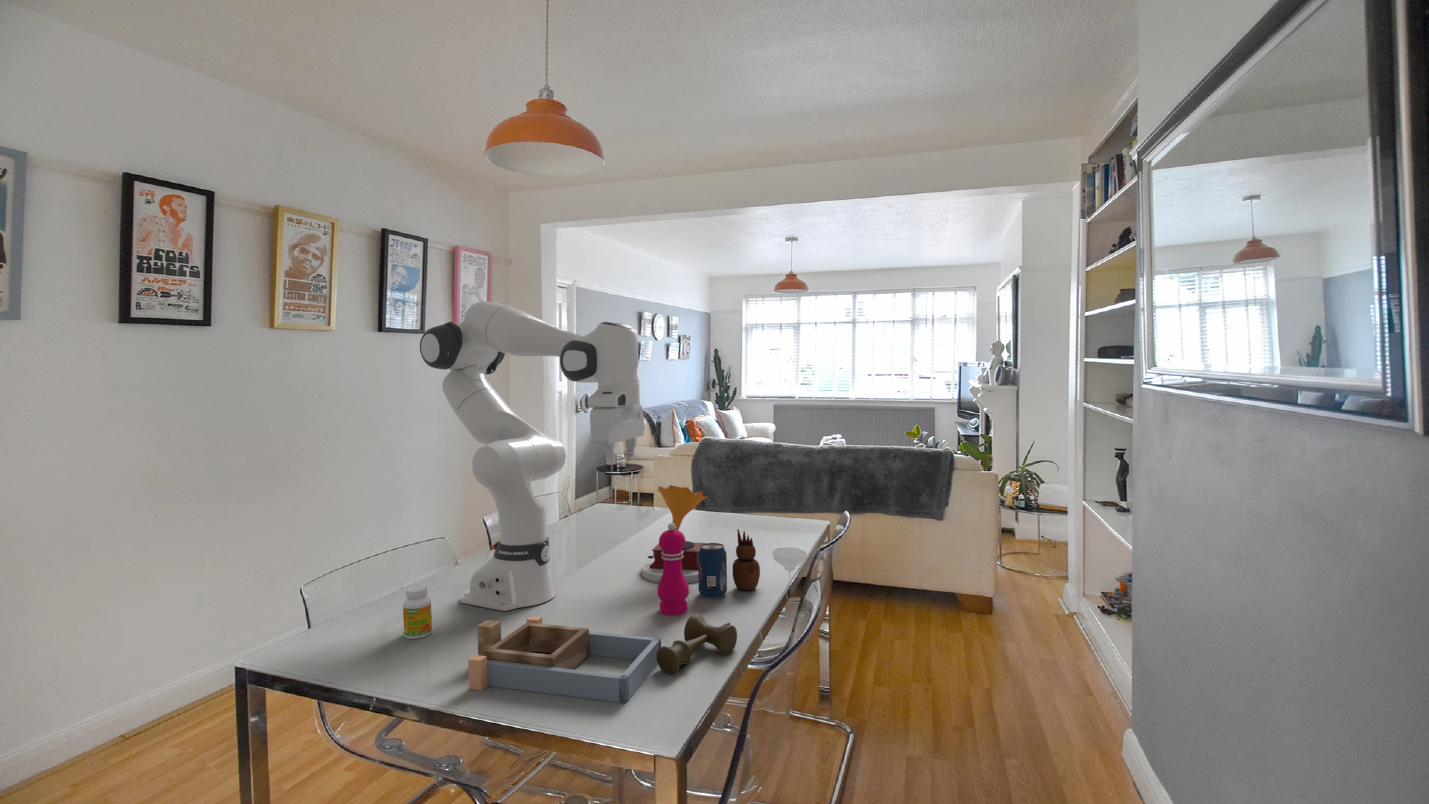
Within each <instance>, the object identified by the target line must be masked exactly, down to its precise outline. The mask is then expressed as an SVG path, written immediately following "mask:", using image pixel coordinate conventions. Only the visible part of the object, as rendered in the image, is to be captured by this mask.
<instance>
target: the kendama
mask: <svg viewBox="0 0 1429 804" xmlns="http://www.w3.org/2000/svg"><path fill="white" fill-rule="evenodd" d="M683 632H684V633H683V636H684V641H683V640H679V639H677V640H674V641H673V643H672V645H671V646H665V645H664V646H661V647H660V648H659V649H658V651H657V663H658V664H657V666H658V668H659V669H660V670H661V671H662V672H663V673H665V674H666V675H667V674H668V675H671V676H672V675H673V676H674V675H676V674H677V673H678V671H679V670H680V666H681V665H686V664H689V663H690V662H691V660H692V657H693V654H695V652H696V651H697V650H698V649H700V647H702V646H703V645H704V644H705V643H707V644H709V645H710V644H711V645H712V646H714V648H716V649H717V650H718V652H719V654H721V655H723V656H727V655H730V654H731V653H732V652H733V651H734V650H735V647H736V645H737V641H738V630H737V628H736V626H734V625H732V624H731V623H730V622H726V623H724V624H722V625H720V626H714V625H711V624H709V623H708V622H707V621H706V619H704V616H703V615H702V614H700V613H694V614H691V616H690V617H689V618H688V619H687V621H686V623H685V625H684V629H683Z"/></svg>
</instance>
